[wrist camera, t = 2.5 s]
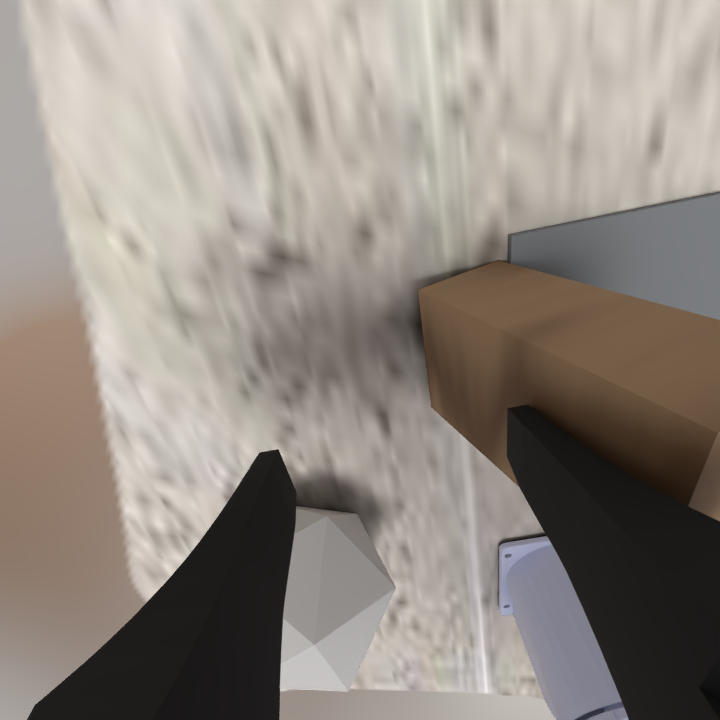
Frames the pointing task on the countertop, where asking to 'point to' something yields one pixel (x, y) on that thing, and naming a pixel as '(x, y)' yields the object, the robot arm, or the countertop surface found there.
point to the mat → (636, 253)
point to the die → (330, 601)
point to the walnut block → (579, 373)
